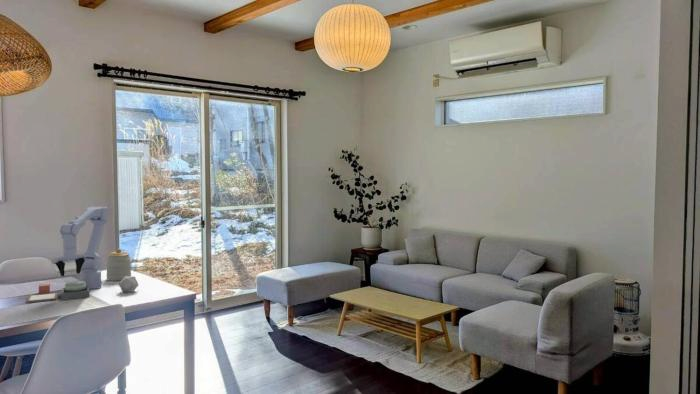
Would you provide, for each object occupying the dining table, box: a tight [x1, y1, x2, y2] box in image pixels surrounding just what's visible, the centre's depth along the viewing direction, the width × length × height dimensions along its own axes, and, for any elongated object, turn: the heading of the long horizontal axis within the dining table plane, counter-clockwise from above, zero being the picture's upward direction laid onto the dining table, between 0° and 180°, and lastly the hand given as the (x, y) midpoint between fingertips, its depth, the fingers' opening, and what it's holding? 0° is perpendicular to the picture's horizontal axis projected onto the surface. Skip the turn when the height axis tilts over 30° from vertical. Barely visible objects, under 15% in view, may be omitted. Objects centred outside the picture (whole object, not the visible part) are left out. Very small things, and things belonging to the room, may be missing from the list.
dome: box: [64, 280, 86, 291], centre depth 240 cm, size 9×9×3 cm
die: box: [118, 275, 139, 293], centre depth 249 cm, size 8×9×10 cm
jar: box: [106, 248, 132, 282], centre depth 278 cm, size 13×13×18 cm
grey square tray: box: [60, 286, 90, 300], centre depth 241 cm, size 12×12×3 cm
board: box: [26, 292, 59, 304], centre depth 234 cm, size 12×12×1 cm
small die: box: [38, 283, 51, 294], centre depth 244 cm, size 4×4×5 cm
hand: (70, 274), depth 240 cm, fingers open, 7 cm apart
